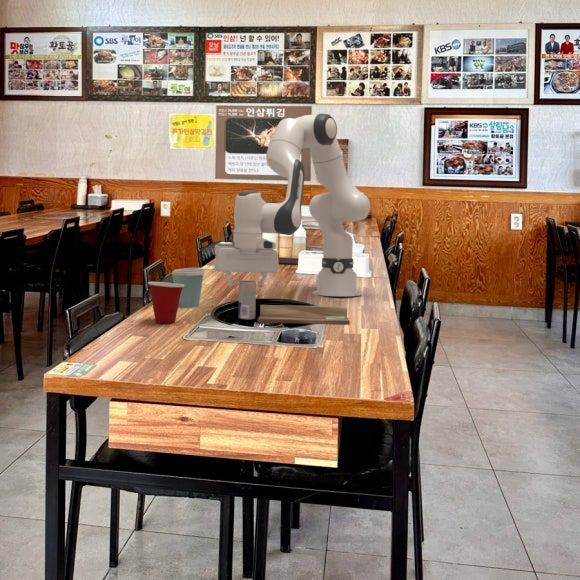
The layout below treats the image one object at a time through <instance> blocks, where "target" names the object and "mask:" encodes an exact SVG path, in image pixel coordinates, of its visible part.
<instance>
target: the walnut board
mask: <svg viewBox="0 0 580 580" xmlns="http://www.w3.org/2000/svg"><path fill="white" fill-rule="evenodd" d="M259 307H260V308H259V310H260V311H259V315H258V319H257V321H258V323H268V324H269V323H275V324H309V325H310V324H317V325H320V324H321V325H350V323H351V321H350V319H349V317H348V306H327V305H326V306H325V305H324V306H323V305H322V306H320V305H282V304H281V305H277V304H276V305H275V304H274V305H272V304H270V305H269V304H260V305H259Z"/></svg>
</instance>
